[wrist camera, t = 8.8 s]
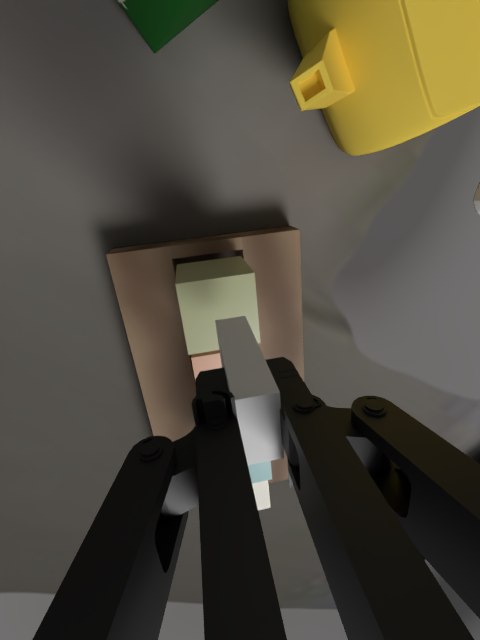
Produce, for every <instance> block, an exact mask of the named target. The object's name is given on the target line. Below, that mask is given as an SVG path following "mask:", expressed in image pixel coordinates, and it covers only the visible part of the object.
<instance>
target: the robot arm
mask: <svg viewBox="0 0 480 640" xmlns="http://www.w3.org/2000/svg"><path fill="white" fill-rule="evenodd" d="M215 323H216V330H217V337H218V344H219V351H220V358H221V365H222V368H218V369H212V370H206V371H200V373H199V374H198V376H197V377H196V397H195V398H194V399H193V401H192V410H193V416H194V421H195V427H194V428H193V430H192V431H191V432H190V433H188V434H187V435H186V436H184V437H182V438H180V439H178V440H175V441H173V442H172V441H171V439H169V438H167V437H166V436H151V437H148V438H146V439H143V440H141V441H140V442H138V443H137V444H136V445H134V446H133V448H132V449H131V450H130V452H129V453H128V455H127V457H126V459H125V461H124V463H123V465H122V467H121V469H120V471H119V473H118V475H117V477H116V479H115V481H114V482H113V484H112V486H111V488H110V490H109V492H108V494H107V496H106V498H105V500H104V502H103V504H102V506H101V508H100V510H99V512H98V514H97V515H96V517H95V519H94V521H93V523H92V525H91V527H90V529H89V531H88V533H87V535H86V537H85V539H84V541H83V543H82V545H81V547H80V548H79V550H78V552H77V554H76V556H75V558H74V560H73V562H72V564H71V566H70V568H69V570H68V572H67V574H66V576H65V578H64V580H63V582H62V583H61V585H60V587H59V589H58V591H57V593H56V595H55V597H54V599H53V601H52V603H51V605H50V607H49V609H48V611H47V613H46V615H45V616H44V618H43V621H42V622H41V624H40V627H39V628H38V630H37V632H36V634H35V636H34V638H33V640H158V637H159V633H160V628H161V624H162V620H163V616H164V612H165V608H166V604H167V600H168V596H169V592H170V588H171V583H172V579H173V575H174V571H175V567H176V563H177V559H178V555H179V551H180V547H181V543H182V538H183V534H184V530H185V526H186V522H187V518H188V510H190V509H192V508H194V507H196V506H198V505H199V517H200V541H201V564H202V588H203V609H204V610H203V612H204V635H205V640H287V638H286V634H285V630H284V625H283V620H282V616H281V612H280V607H279V602H278V598H277V594H276V589H275V585H274V580H273V576H272V571H271V567H270V562H269V558H268V553H267V549H266V544H265V540H264V535H263V531H262V526H261V522H260V518H259V513H258V509H257V504H256V500H255V495H254V491H253V486H252V482H251V477H250V473H249V468H248V465H252V464H257V463H262V462H267V461H272V460H277V459H282V458H284V450H285V453H286V456H287V461H288V478H289V488H290V487H293V485H294V488H295V491H296V494H297V497H298V499H299V502H300V505H301V508H302V511H303V514H304V516H305V519H306V522H307V525H308V528H309V530H310V533H311V536H312V539H313V542H314V545H315V547H316V550H317V553H318V556H319V559H320V561H321V564H322V567H323V570H324V573H325V576H326V578H327V581H328V584H329V587H330V590H331V593H332V595H333V598H334V601H335V604H336V607H337V609H338V612H339V615H340V618H341V621H342V624H343V626H344V629H345V632H346V635H347V638H348V640H474V639H473V637H472V635H471V634H470V632H469V631H468V629H467V628H466V626H465V625H464V623H463V621H462V620H461V618H460V616H459V615H458V613H457V612H456V610H455V609H454V607H453V605H452V604H451V602H450V601H449V599H448V598H447V596H446V594H445V593H444V591H443V590H442V588H441V586H440V585H439V583H438V582H437V580H436V578H435V577H434V575H433V574H432V572H431V571H430V569H429V567H428V566H427V564H426V563H425V561H424V559H423V558H422V556H421V555H420V553H421V554H422V555H423V557H424V558H425V559H426V560H427V561H428V562H429V563H430V564H431V565H432V567H433V568H434V569H435V570H436V571H437V572H438V573H439V574H440V575H441V577H442V578H444V580H445V581H446V582H447V583H448V584H449V585H450V586H451V588H452V589H453V590H454V591H455V592H456V593H457V594H458V595H459V596H460V598H461V599H462V600H463V601H464V602H465V603H466V604H467V605H468V606H469V607H470V609H471V610H472V611H473V612H474V613H475V614H476V615H477V616H478V617H479V619H480V464H478V463H477V462H476V461H474V460H473V459H471V458H470V457H468V456H467V455H466V454H464V453H463V452H461V451H460V450H458V449H457V448H456V447H454V446H453V445H451V444H450V443H448V442H447V441H446V440H444V439H443V438H441V437H440V436H438V435H437V434H436V433H434V432H433V431H431V430H430V429H429V428H427V427H426V426H424V425H423V424H421V423H420V422H419V421H417V420H416V419H414V418H413V417H411V416H410V415H409V414H407V413H406V412H404V411H403V410H401V409H400V408H399V407H397V406H396V405H394V404H393V403H392V402H390V401H388V400H386V399H384V398H381V397H377V396H363V397H359V398H357V399H356V400H354V402H353V403H352V407H351V409H350V408H334V407H329V406H326V404H325V403H324V402H323V401H322V400H321V399H320V398H318V397H316V396H314V395H312V394H311V393H310V391H309V389H308V388H307V386H306V384H305V383H304V381H303V379H302V378H301V376H300V374H299V373H298V371H297V370H296V368H295V366H294V364H293V363H292V362H291V361H290V360H288V359H287V358H285V357H278V358H272V359H266V360H265V358H264V356H263V354H262V352H261V349H260V347H259V345H258V343H257V341H256V338H255V336H254V334H253V332H252V330H251V327H250V325H249V323H248V321H247V319H246V316H240V317H234V318H227V319H220V320H215ZM292 482H293V485H292ZM418 551H419V552H420V553H419V552H418Z"/></svg>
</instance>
